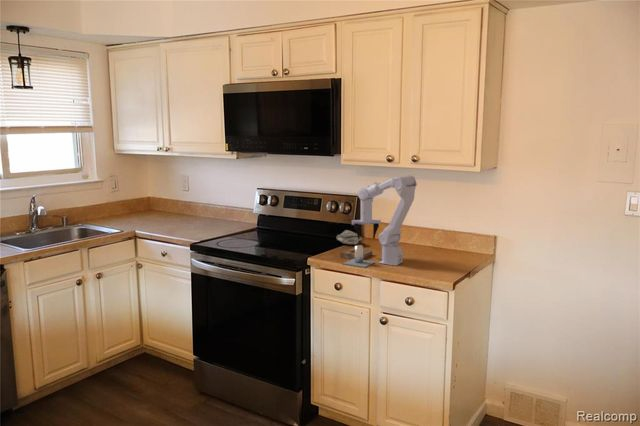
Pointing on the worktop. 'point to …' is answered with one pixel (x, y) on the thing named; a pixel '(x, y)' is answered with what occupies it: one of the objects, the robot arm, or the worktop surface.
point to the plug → (358, 254)
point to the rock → (349, 238)
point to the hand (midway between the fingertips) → (366, 238)
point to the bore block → (351, 253)
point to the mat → (364, 264)
